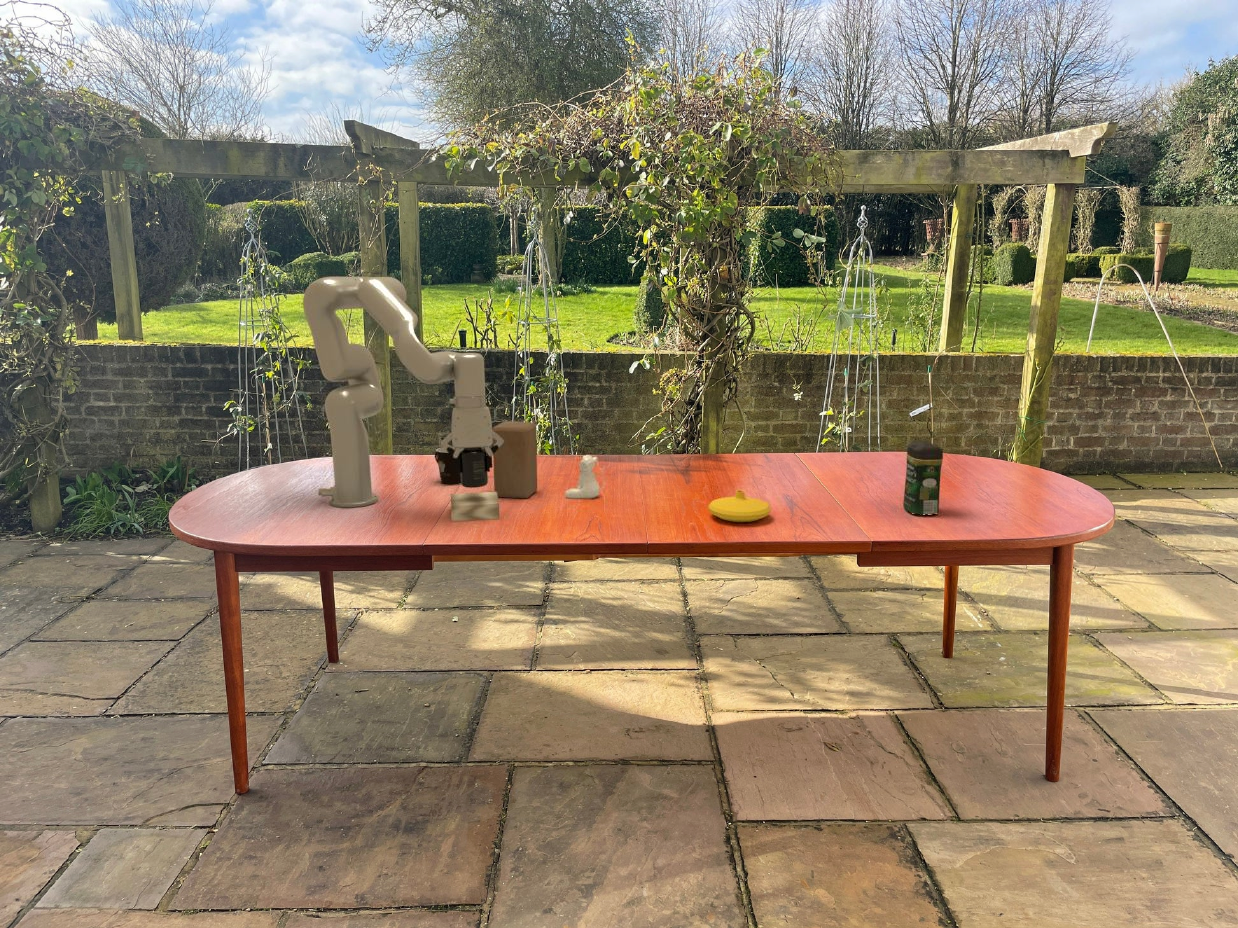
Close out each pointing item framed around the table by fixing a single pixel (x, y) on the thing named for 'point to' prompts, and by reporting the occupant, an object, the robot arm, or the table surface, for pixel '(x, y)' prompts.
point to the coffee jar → (923, 478)
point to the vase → (739, 508)
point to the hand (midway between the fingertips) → (473, 470)
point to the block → (515, 460)
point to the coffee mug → (447, 467)
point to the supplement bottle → (473, 467)
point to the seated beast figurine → (585, 480)
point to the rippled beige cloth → (474, 506)
